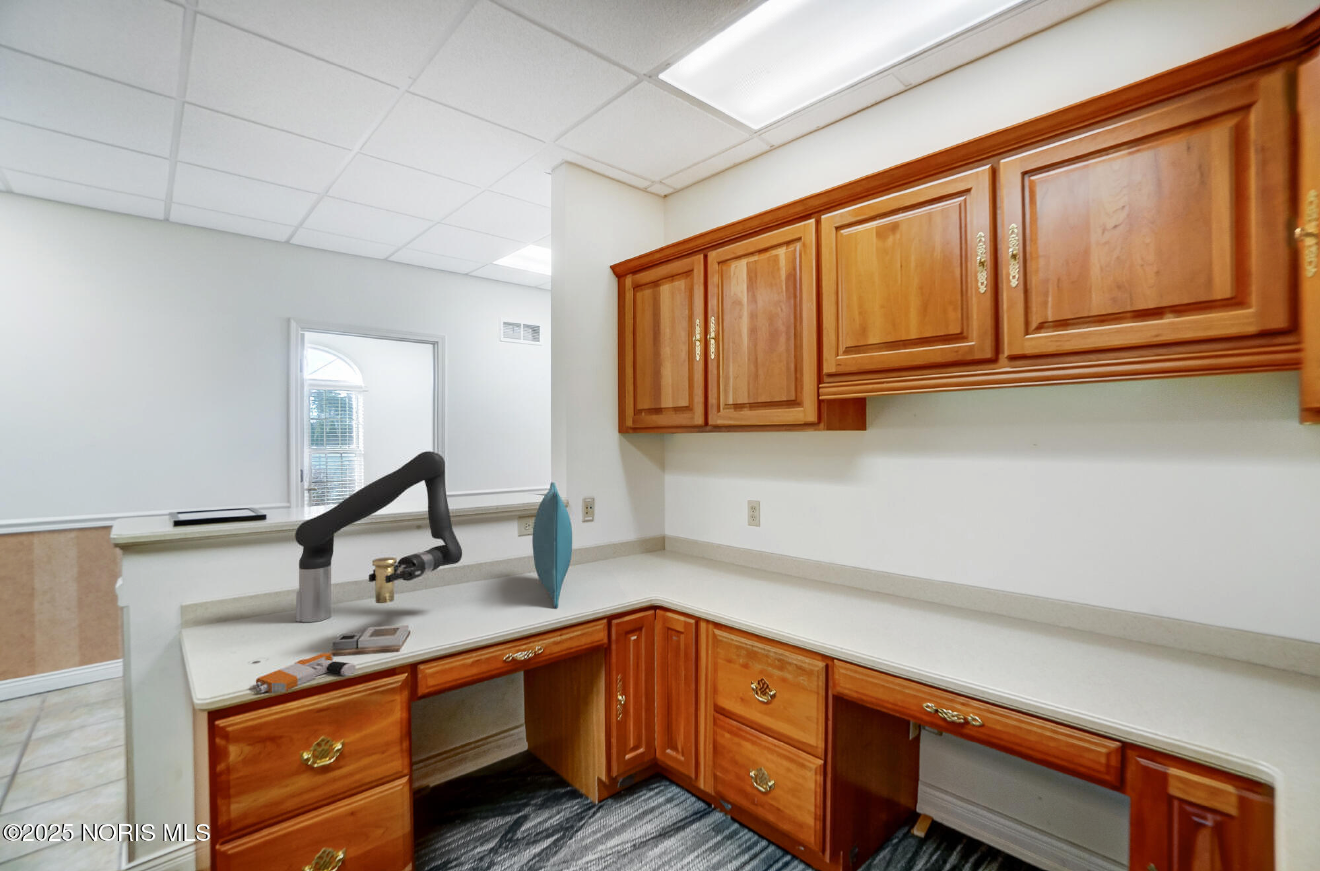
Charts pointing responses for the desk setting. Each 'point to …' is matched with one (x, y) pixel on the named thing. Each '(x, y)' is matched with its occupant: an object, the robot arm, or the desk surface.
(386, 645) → the wide steel port
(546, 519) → the pillow
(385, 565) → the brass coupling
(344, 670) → the toy gun
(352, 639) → the grey square ring
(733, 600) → the desk surface
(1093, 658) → the desk surface
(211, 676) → the desk surface
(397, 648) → the walnut board
